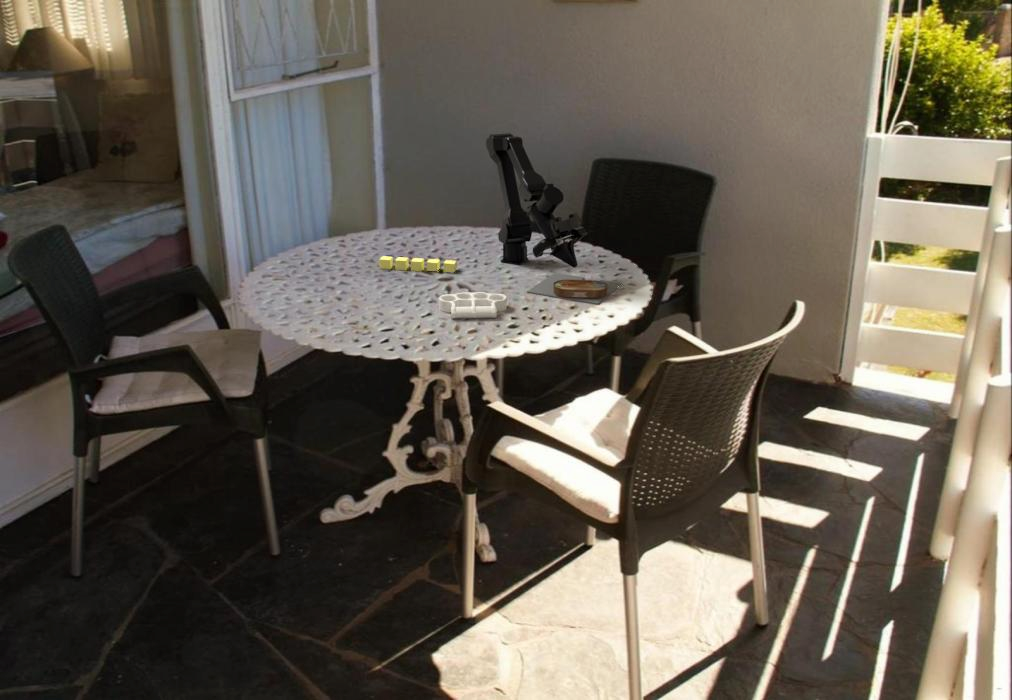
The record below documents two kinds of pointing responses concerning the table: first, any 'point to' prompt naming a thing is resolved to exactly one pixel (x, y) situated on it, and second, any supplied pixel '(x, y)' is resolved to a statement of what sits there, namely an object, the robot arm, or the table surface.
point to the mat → (547, 284)
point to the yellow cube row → (416, 264)
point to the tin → (580, 288)
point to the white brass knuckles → (472, 304)
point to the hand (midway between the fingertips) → (575, 266)
